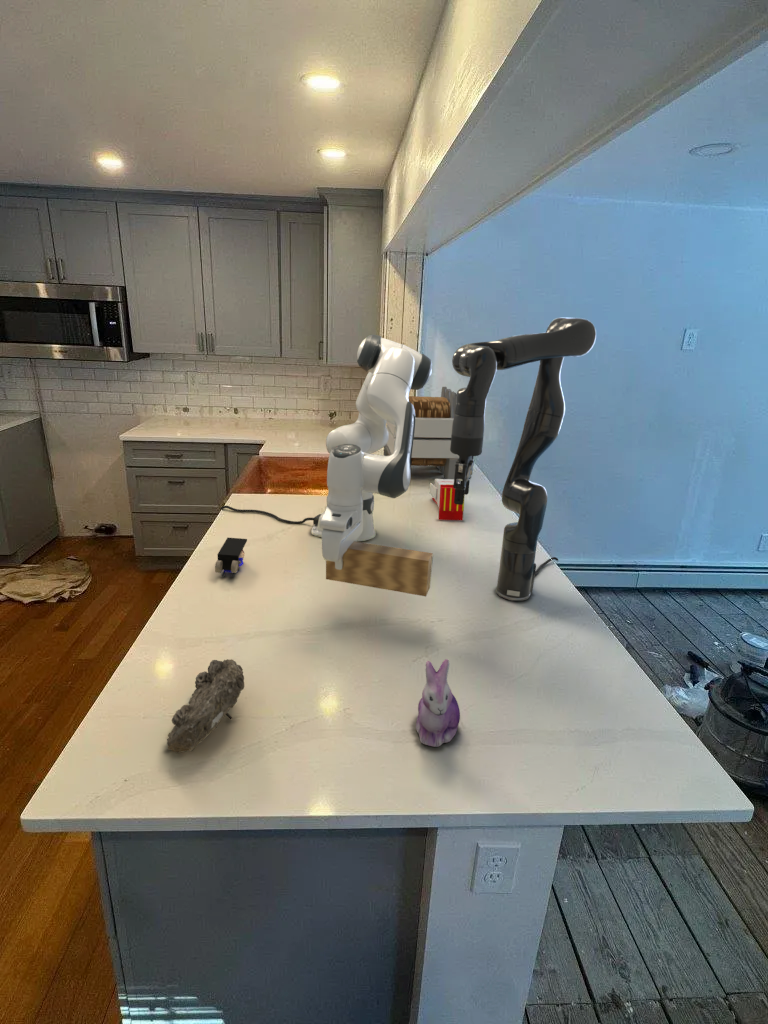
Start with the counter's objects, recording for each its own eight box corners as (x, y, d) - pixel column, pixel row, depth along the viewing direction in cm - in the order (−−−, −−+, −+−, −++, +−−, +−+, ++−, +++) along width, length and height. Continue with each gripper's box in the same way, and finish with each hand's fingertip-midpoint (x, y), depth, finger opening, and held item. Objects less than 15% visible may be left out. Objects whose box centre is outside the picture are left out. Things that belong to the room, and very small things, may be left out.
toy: (456, 474, 239) (469, 486, 210) (455, 506, 242) (467, 521, 213) (428, 474, 239) (436, 485, 210) (426, 505, 242) (435, 520, 212)
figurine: (430, 757, 101) (436, 686, 95) (402, 721, 109) (406, 654, 104) (473, 741, 105) (481, 672, 100) (443, 707, 113) (449, 643, 108)
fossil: (192, 660, 117) (244, 628, 112) (224, 691, 120) (276, 661, 115) (142, 746, 98) (202, 712, 93) (182, 779, 101) (242, 748, 96)
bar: (325, 579, 143) (326, 544, 140) (332, 571, 147) (333, 537, 144) (425, 596, 137) (428, 561, 133) (430, 587, 141) (432, 553, 138)
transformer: (382, 463, 289) (386, 382, 275) (445, 464, 293) (451, 384, 279) (390, 482, 257) (394, 392, 243) (460, 483, 261) (468, 394, 247)
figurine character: (238, 584, 162) (249, 557, 175) (236, 562, 158) (247, 536, 172) (215, 584, 161) (227, 556, 175) (212, 561, 158) (225, 535, 171)
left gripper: (346, 497, 148) (345, 546, 153) (316, 523, 130) (316, 578, 134) (369, 500, 147) (367, 549, 151) (342, 527, 128) (341, 582, 133)
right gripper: (479, 441, 126) (472, 510, 131) (486, 429, 139) (480, 492, 144) (446, 437, 128) (440, 505, 133) (456, 426, 141) (450, 489, 146)
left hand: (343, 563), depth 143 cm, fingers closed on bar, 5 cm apart
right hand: (461, 498), depth 139 cm, fingers open, 8 cm apart
